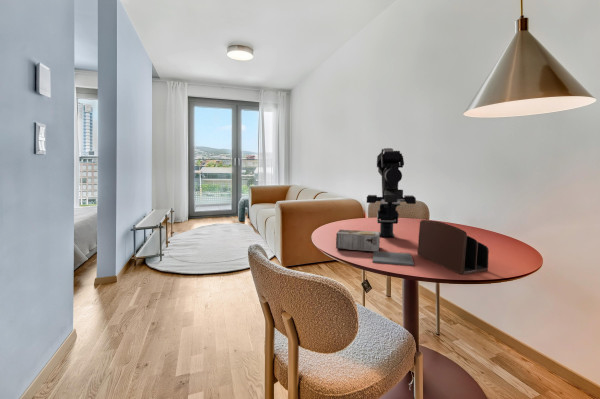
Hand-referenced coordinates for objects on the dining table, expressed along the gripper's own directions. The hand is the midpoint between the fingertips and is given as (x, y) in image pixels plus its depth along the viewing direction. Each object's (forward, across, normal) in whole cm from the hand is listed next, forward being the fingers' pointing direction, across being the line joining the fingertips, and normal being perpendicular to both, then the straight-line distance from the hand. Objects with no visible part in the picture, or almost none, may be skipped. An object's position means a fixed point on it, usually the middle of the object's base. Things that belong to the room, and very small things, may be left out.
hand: (389, 220), depth 116 cm
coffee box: (+7, -4, -9) cm, 12 cm away
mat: (+10, 0, -19) cm, 21 cm away
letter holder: (+11, +19, -18) cm, 28 cm away
